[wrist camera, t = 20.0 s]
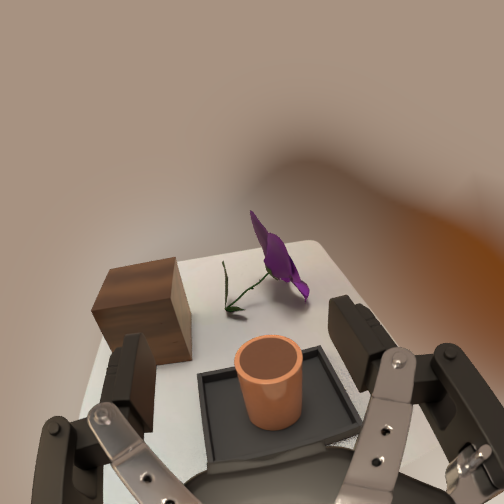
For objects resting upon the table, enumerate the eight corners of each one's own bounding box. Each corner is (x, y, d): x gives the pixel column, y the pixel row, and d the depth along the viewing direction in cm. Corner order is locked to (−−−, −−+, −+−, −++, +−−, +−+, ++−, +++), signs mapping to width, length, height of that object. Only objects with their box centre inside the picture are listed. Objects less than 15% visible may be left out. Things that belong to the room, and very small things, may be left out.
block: (192, 360, 40) (170, 298, 35) (121, 368, 39) (90, 310, 34) (191, 313, 50) (175, 256, 45) (131, 323, 49) (109, 269, 44)
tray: (212, 472, 24) (208, 466, 23) (200, 383, 36) (196, 373, 35) (361, 432, 26) (364, 424, 26) (320, 355, 38) (320, 344, 37)
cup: (283, 439, 27) (278, 394, 23) (235, 415, 31) (220, 366, 26) (312, 398, 31) (314, 346, 27) (266, 379, 35) (259, 326, 31)
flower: (264, 357, 45) (330, 302, 46) (203, 305, 38) (285, 236, 38) (235, 308, 58) (288, 263, 58) (184, 258, 50) (245, 206, 50)
